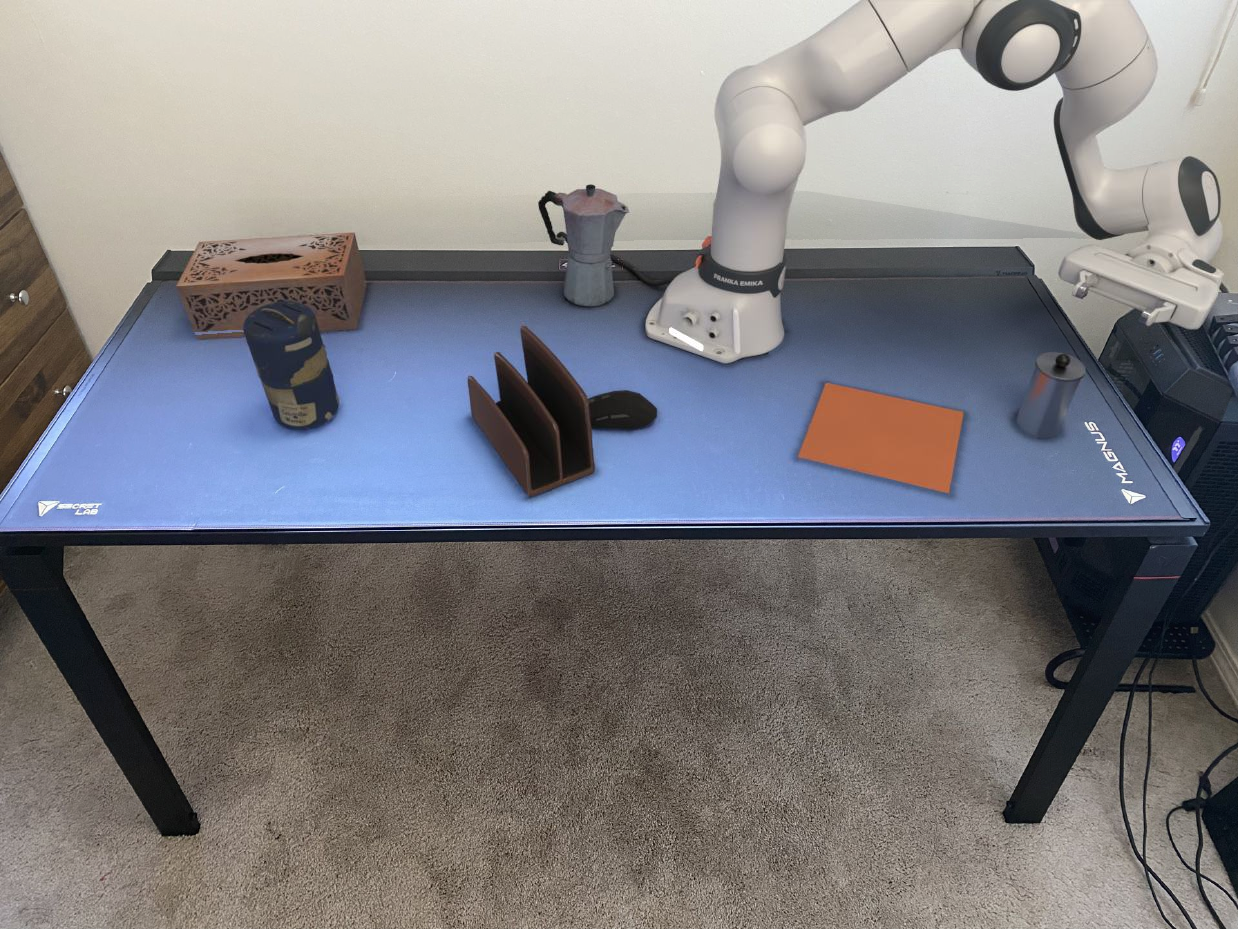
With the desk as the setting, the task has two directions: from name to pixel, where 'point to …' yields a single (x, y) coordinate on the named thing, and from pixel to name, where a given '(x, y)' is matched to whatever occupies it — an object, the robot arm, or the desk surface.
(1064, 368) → the pot
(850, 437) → the napkin
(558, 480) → the letter holder
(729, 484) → the desk surface
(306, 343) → the canister
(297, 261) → the tissue box cover
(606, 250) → the moka pot
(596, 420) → the gaming mouse
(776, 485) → the desk surface
